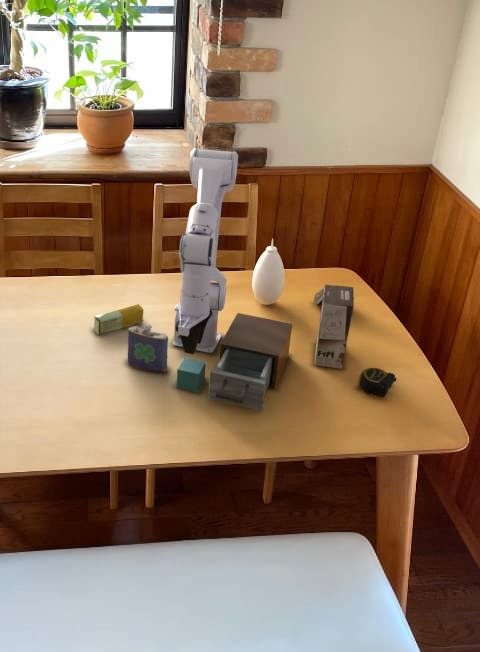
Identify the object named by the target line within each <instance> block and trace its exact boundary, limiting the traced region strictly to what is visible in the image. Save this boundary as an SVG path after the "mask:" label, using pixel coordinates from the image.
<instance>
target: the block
mask: <svg viewBox="0 0 480 652" xmlns="http://www.w3.org/2000/svg"><path fill="white" fill-rule="evenodd" d="M206 367H207V362H206V361H202V360H198V359H193V358H189V357H183V359H182V361H181V362H180V364H179V366H178V367H177V369H176V370H177V371H176V389H181V390H184V391H185V390H187V391H190V392H194V393H199V392H200V390H201V388H202V386H203V384H204V382H205V380H206Z"/></svg>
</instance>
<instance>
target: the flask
mask: <svg viewBox="0 0 480 652" xmlns="http://www.w3.org/2000/svg"><path fill="white" fill-rule="evenodd" d="M152 328H153V326H152V325H151V324H148V325H144V327H143V328H141V327H139V326H138V325H137V326H129V328H128V329H127V365H128V366H130V367H132V368H135V369H138V370H142V371H147V372H152V373H157V374H160V373H161V374H164V373H166V372H167V370H168V349H169V348H168V345H169V343H168V342H169V337H168V334H166V333H163V332H162V333H161V332H157V331H151V330H152Z"/></svg>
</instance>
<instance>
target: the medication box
mask: <svg viewBox="0 0 480 652" xmlns="http://www.w3.org/2000/svg"><path fill="white" fill-rule="evenodd" d="M144 310H145V309H144V308H143V307H142V306H141V304H139V303H138V304H133V305H130V306H127V307H122V308H119V309H116V310H112V311H109V312H106V313H102V314H98V315H94V317H93V321H94V322H93V324H94V325H93V330H94V332H95V333H96V334H97V335H98V336H99V335H102V334H105V333H108V332H112V331H115V330H120V329H123V328H126V327H131V326H133V325H137V324H141V323H143V322H144Z"/></svg>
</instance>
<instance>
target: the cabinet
mask: <svg viewBox="0 0 480 652" xmlns="http://www.w3.org/2000/svg"><path fill="white" fill-rule="evenodd" d="M292 329H293V323H291V322H286V321H280V320H277V319H270V318H265V317H260V316H256V315H255V316H254V315H252V314H251V315H250V314H245V313H240V312H237V313H236V315H235V316H234V318H233V320H232V322H231V323H230V326H229V327H228V329H227V331H226V333H225V335H224V336H223V338H222V340H221V342H220V346H219V358H218V359H219V360H218V363H219V362H220V360H221V358H222V356H223V354H224V352H225V350H226V349H227V348H229V349H233V350H238V351H243V352H248V353H252V354H257V355H262V356H267V357H271V358H275V359H274V367H273V375H272V378H271V380H270V383H269V385H268V387H267V389H271V390H275V389H276V387H277V384H278V383H279V380H280V377H281V375H282V373H283V370H284V367H285V365H286V363H287V361H288V357H289V353H290V346H291V339H292V337H291V336H292Z"/></svg>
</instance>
